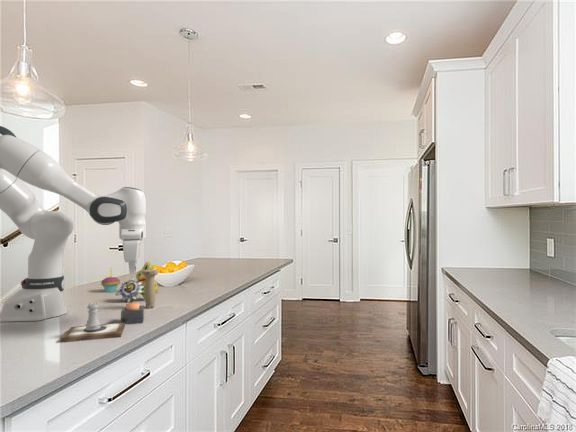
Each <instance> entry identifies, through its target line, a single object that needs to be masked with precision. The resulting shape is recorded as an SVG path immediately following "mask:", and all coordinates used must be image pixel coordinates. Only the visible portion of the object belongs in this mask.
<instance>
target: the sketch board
mask: <svg viewBox="0 0 576 432" xmlns="http://www.w3.org/2000/svg"><path fill="white" fill-rule="evenodd" d="M100 326H101V328H100V329H98V330H95V331H87V330H86V329H85V328H86V326H85V325H79V326H77V325H76V326H71V327H70V328H68V330H67V331H65V333H64V334H63V336H61V338H60V342H61V343H70V342H78V341H79V342H80V340H81V341H90V340H101V339H113V338H121V337H122V335H123V332H124V329H125V326H126V324H125V323H121V322H119V323H118V322H115V323H104V324H102V323H101V324H100ZM69 341H70V342H69Z"/></svg>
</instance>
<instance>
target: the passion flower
mask: <svg viewBox="0 0 576 432" xmlns="http://www.w3.org/2000/svg"><path fill="white" fill-rule="evenodd" d="M142 283H143V281H140V282H136V279H135V278H134V277H132V278H131V279H128V280H127V281H124V282H123V283H122V282H121V286H120V288H119V291H117V292H116V293H115V296H122V302H123V301H126V304H128V303H131V300H132V299H133V300H137V299H138V295H139V294H140V295H141V297H143V299H144V300H145V290H144V287H145V286H140V285H141V284H142Z"/></svg>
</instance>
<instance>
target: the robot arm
mask: <svg viewBox="0 0 576 432" xmlns="http://www.w3.org/2000/svg"><path fill="white" fill-rule="evenodd" d="M23 182H24V183H26V184H29V185H30V186H32V187H35V188H37V189H41V190H44V191H48V192H51V193H54V194H56V195H60V196H62V197H64V198H66V199H67V200H69V201H71V202H73V203H74V204H76V205H77V206H79V207H81V208H82V209H84V210H85V211H86V212H87V213H88V214H89V216H90V218H91V219H92V220H93V221H94V223H96V224H99V225H102V226H109V225H112V224H115V222H117V223H118V224H119V226H118V229H119V230H118V234H119V235H118V237H119V238H118V239H120V240H121V241H122V250H123V260H124V262H125V263H128V270H129V272H128V273H129V274H131V275H133V274H135V273H136V271H137V263H138V262H137V261H138V259H139V258H140V256H141V244H143V239H146V238H147V221H146V215H147V199H146V195H145V193H144V191H142V189H139V188H136V187H135V188H134V187H129V186H123V187H121V188H120V189H118V190H116V191H114V192H111V193H108V194H106V195H98V194H95V193H93V192H92V191H91V190H89V189H87V188H86V187H84V186H82V185H81V184H79V183H78V182H76V181H75V180H73V178H71V177H70V175H68V173H67V172H66V170H64V168H63V167H62V165H60V164H59V162H57V161H56V159H54V158H53V157H52V156H50V155H49V154H47V153H46V152H44V151H43V150H42V149H40V148H37V146H34V145H33V144H31V143H30V142H27V141H25V140H23V139H21V138H19V137H17V136H16V135H15V133H13V131H12V130H10V129H8V128H7V127H4V126H1V125H0V210H1V211H2V212H3V213H4V214H6V215H7V216H8V217H9V218H10V220H11V221H12V223H14V224H15V226H16V227H18V229H19V231H20V233H21V234H22V235H23V236H25V237H26V238H29V239H31V240H33V241H34V242H33V244H32V249H31V252H30V254H28V257H27V277H26V278H23V280H21V281H20V285H21V289H19V290H18V291H17V292H15V293H14V294H13V295H11V296H10V297H9V298H7V299H6V300H5V301H4V302H3V305H2V308H1V312H0V323H2V322H3V323H4V322H5V323H6V322H32V321H33V322H34V321H35V322H36V321H37V322H38V321H39V322H40V321H42V320H46V319H51V318H55V317H59V316H63V315H65V314H67V313H68V309H67V306H66V301H65V294H64V290H65V276H64V275H63V274H64V272H63V271H64V253H65V249H66V246H67V241H68V238H69V237H70V236H71V234H72V232H73V230H74V221H73V220H72V218H71V216H69V215H68V214H66V213H63V212H61V211H58V210H57V211H56V210H53V211H52V210H46V209H45V208H44V207H43V206H42V205H41V204H40V202H39V201H38V200H37V199H36V195H35V193H34V192H33V191H32V190H31V189H30V188H29V187H28V186H26V185H25V184H24V183H23Z"/></svg>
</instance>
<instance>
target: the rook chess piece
mask: <svg viewBox="0 0 576 432" xmlns="http://www.w3.org/2000/svg"><path fill="white" fill-rule="evenodd" d="M99 307H100V306H99V304H98V302H93V303H92V302H91V303H88V306H87V307H86V308H87V309H88V311H87V313H88V318H87V321H86V324H85V325H84V326H86V328H85V329H86V330H87V331H95V330H98V329H100V328H101V326H100V325H102V323H101V321H100V320H99V317H98V316H99V314H98V313H99V310H98V309H99Z"/></svg>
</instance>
